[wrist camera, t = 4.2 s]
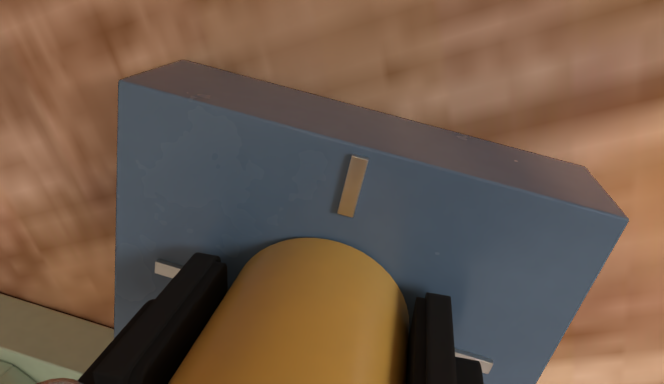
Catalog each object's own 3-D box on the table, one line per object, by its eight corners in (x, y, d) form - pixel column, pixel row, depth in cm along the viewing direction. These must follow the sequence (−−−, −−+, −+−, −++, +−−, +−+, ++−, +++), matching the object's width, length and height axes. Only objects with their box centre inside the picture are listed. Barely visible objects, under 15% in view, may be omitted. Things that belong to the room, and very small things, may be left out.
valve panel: (586, 166, 12) (634, 223, 9) (467, 406, 16) (475, 497, 13) (182, 58, 13) (112, 80, 10) (162, 311, 17) (108, 379, 14)
